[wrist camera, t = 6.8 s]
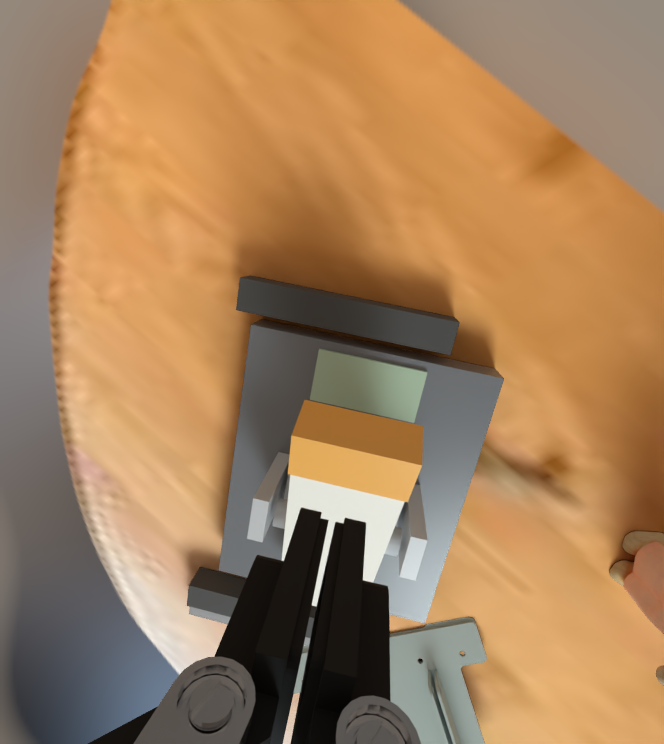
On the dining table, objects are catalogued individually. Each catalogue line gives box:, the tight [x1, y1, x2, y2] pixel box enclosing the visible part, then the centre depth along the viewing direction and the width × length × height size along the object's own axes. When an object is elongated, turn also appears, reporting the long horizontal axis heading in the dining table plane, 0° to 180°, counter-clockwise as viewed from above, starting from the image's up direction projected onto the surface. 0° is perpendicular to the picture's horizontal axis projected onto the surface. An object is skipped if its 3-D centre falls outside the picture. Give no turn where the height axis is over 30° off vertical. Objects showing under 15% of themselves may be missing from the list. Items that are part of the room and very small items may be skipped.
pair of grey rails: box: [187, 276, 459, 646], centre depth 27 cm, size 13×25×2 cm, turn 169°
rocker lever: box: [273, 400, 423, 607], centre depth 22 cm, size 6×14×2 cm, turn 169°
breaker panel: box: [219, 319, 504, 623], centre depth 24 cm, size 14×17×7 cm
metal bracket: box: [294, 617, 487, 744], centre depth 32 cm, size 14×6×15 cm
